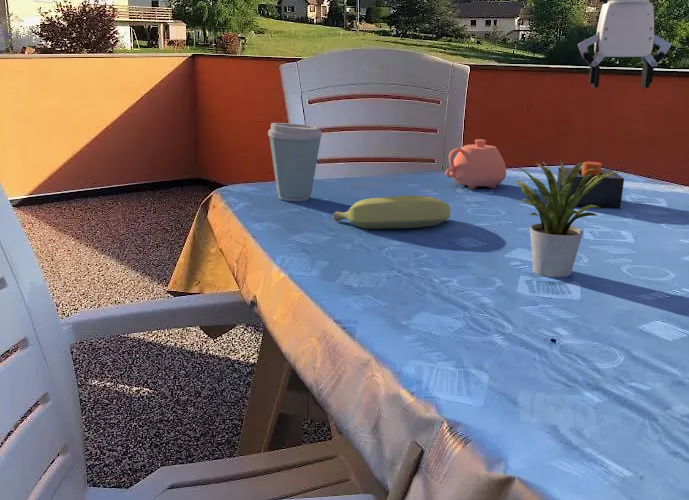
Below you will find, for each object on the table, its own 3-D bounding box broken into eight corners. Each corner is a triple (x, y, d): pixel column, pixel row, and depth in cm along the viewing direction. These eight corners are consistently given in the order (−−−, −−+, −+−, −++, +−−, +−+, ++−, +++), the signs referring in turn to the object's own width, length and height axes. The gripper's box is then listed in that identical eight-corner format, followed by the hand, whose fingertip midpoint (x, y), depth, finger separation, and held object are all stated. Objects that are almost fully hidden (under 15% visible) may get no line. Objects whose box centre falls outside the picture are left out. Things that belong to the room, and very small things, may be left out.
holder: (607, 197, 149) (610, 169, 148) (620, 208, 139) (624, 178, 138) (555, 195, 150) (558, 167, 149) (565, 206, 140) (568, 176, 139)
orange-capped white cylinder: (594, 200, 146) (599, 161, 144) (598, 204, 143) (603, 164, 141) (576, 199, 147) (581, 161, 144) (580, 203, 143) (585, 164, 141)
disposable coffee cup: (302, 190, 150) (302, 119, 146) (332, 200, 142) (333, 124, 138) (258, 196, 144) (257, 122, 140) (288, 206, 136) (287, 128, 131)
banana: (443, 191, 116) (325, 199, 120) (445, 225, 116) (326, 231, 120) (450, 196, 129) (343, 203, 133) (451, 227, 129) (344, 232, 133)
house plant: (597, 258, 107) (610, 150, 102) (626, 288, 93) (643, 166, 89) (501, 254, 107) (510, 147, 103) (517, 284, 94) (528, 163, 90)
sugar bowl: (515, 189, 156) (519, 142, 153) (456, 192, 152) (459, 144, 149) (489, 179, 167) (493, 135, 164) (434, 181, 163) (436, 136, 160)
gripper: (669, -4, 138) (658, 86, 143) (578, -3, 140) (570, 86, 145) (683, -6, 131) (671, 88, 136) (587, -6, 133) (579, 88, 137)
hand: (619, 87), depth 140 cm, fingers open, 9 cm apart
